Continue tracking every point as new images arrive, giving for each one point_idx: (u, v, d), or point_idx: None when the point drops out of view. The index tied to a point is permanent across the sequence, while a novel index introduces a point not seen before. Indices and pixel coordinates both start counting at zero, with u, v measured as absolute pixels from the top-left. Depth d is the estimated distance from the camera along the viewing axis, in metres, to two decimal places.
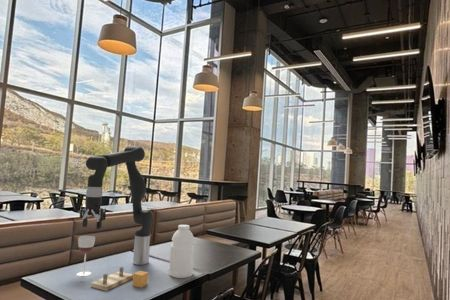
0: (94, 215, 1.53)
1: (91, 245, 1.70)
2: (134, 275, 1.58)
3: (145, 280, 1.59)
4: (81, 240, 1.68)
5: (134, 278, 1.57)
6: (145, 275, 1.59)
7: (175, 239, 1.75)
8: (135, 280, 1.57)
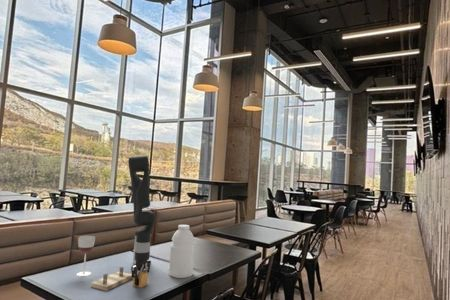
0: (146, 268, 1.61)
1: (91, 245, 1.70)
2: None
3: (145, 280, 1.59)
4: (81, 240, 1.68)
5: (134, 278, 1.57)
6: (145, 275, 1.59)
7: (175, 239, 1.75)
8: None
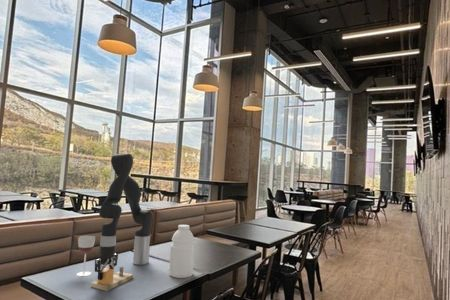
0: (112, 262, 1.57)
1: (91, 245, 1.70)
2: None
3: (110, 277, 1.55)
4: (81, 240, 1.68)
5: None
6: (110, 272, 1.55)
7: (175, 239, 1.75)
8: None
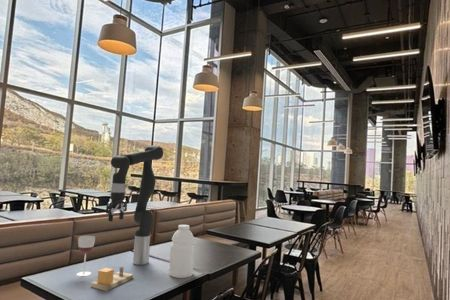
0: (122, 208, 1.75)
1: (91, 245, 1.70)
2: (99, 272, 1.54)
3: (110, 277, 1.55)
4: (81, 240, 1.68)
5: (99, 275, 1.53)
6: (110, 272, 1.55)
7: (175, 239, 1.75)
8: (100, 277, 1.53)
